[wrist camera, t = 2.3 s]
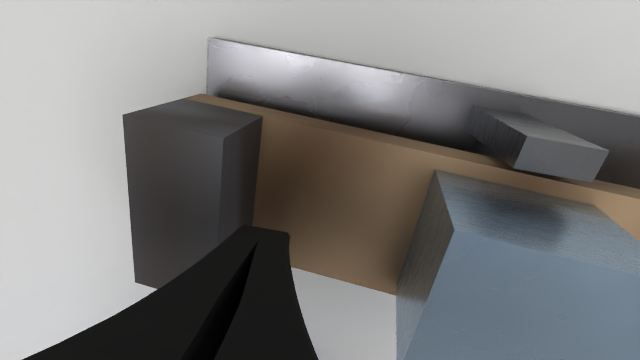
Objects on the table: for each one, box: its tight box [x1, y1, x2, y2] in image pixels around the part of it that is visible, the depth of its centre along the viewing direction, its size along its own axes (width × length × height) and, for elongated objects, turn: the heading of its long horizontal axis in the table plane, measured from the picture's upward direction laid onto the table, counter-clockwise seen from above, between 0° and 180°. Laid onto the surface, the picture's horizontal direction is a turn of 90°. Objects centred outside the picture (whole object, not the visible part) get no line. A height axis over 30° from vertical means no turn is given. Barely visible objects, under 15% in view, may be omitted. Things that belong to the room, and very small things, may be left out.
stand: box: [206, 38, 640, 189], centre depth 14 cm, size 24×10×5 cm, turn 81°
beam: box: [123, 94, 640, 295], centre depth 11 cm, size 24×6×4 cm, turn 81°
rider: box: [396, 169, 640, 360], centre depth 10 cm, size 5×5×4 cm
